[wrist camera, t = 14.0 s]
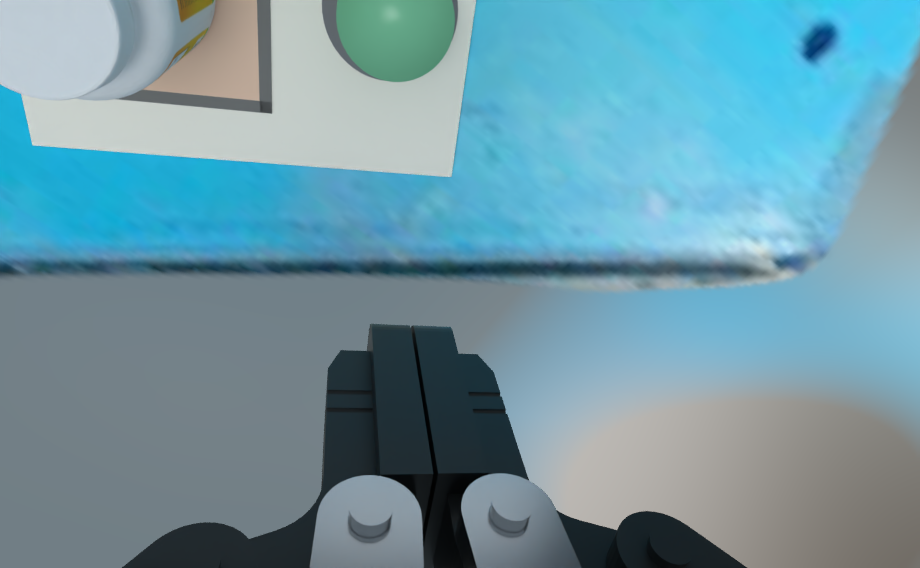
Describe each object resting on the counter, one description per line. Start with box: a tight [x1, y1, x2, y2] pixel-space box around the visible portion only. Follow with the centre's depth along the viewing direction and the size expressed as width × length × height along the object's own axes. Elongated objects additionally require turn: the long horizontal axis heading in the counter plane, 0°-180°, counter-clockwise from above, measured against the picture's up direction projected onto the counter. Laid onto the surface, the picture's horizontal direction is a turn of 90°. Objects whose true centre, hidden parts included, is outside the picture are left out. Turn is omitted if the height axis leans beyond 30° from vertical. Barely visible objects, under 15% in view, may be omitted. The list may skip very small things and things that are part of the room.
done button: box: [336, 0, 455, 82], centre depth 23 cm, size 4×4×2 cm
